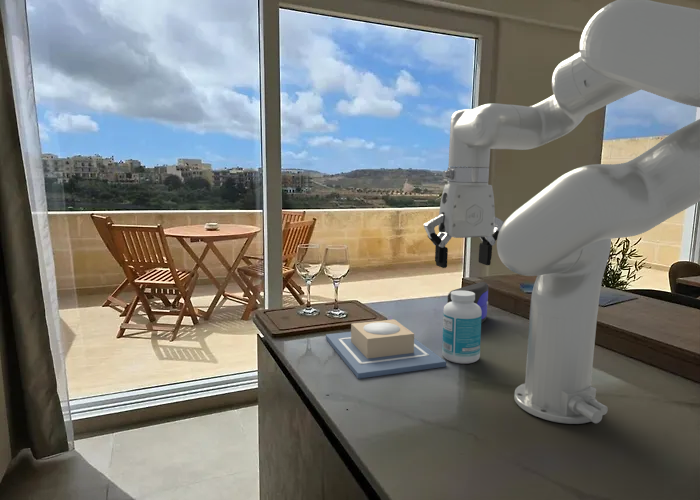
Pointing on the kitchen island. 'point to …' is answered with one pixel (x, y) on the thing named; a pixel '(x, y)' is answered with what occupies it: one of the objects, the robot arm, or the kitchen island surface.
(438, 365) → the board
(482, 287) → the black curved block
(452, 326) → the pill bottle
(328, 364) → the kitchen island surface
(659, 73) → the robot arm
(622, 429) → the kitchen island surface
